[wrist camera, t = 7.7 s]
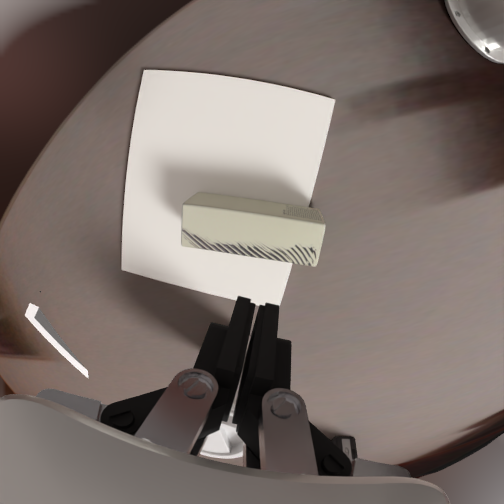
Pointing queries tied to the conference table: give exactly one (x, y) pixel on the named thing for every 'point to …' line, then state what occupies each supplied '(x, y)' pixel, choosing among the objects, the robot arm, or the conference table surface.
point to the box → (252, 228)
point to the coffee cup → (225, 437)
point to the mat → (216, 172)
